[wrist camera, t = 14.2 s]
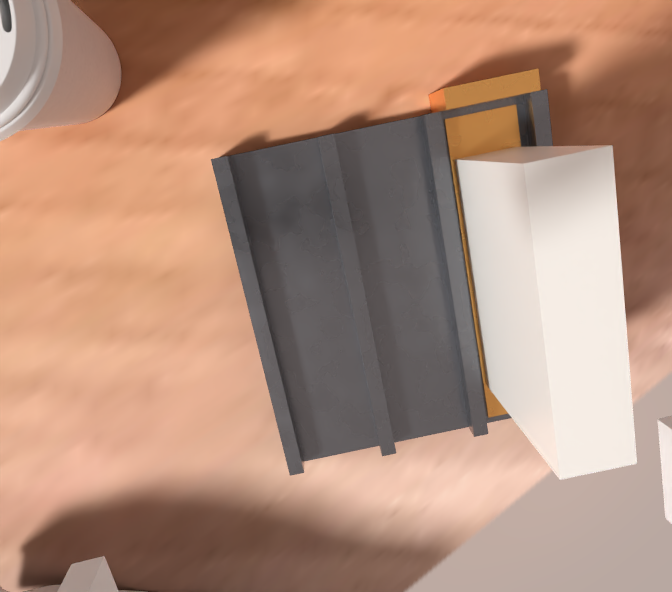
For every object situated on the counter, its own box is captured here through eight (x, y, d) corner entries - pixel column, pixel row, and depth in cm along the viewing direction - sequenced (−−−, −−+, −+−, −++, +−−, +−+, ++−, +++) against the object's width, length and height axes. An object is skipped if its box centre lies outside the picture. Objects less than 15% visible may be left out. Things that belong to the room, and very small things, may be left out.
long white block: (454, 159, 37) (523, 163, 25) (515, 146, 37) (612, 145, 25) (487, 386, 41) (559, 479, 29) (542, 374, 41) (636, 463, 29)
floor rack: (212, 139, 37) (201, 138, 33) (529, 73, 37) (555, 64, 33) (290, 457, 43) (289, 487, 39) (564, 399, 43) (590, 424, 39)
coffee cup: (122, 171, 37) (5, 185, 23) (-29, 115, 36) (-255, 92, 21) (166, 22, 35) (69, -68, 21) (8, -43, 34) (-214, -188, 19)
